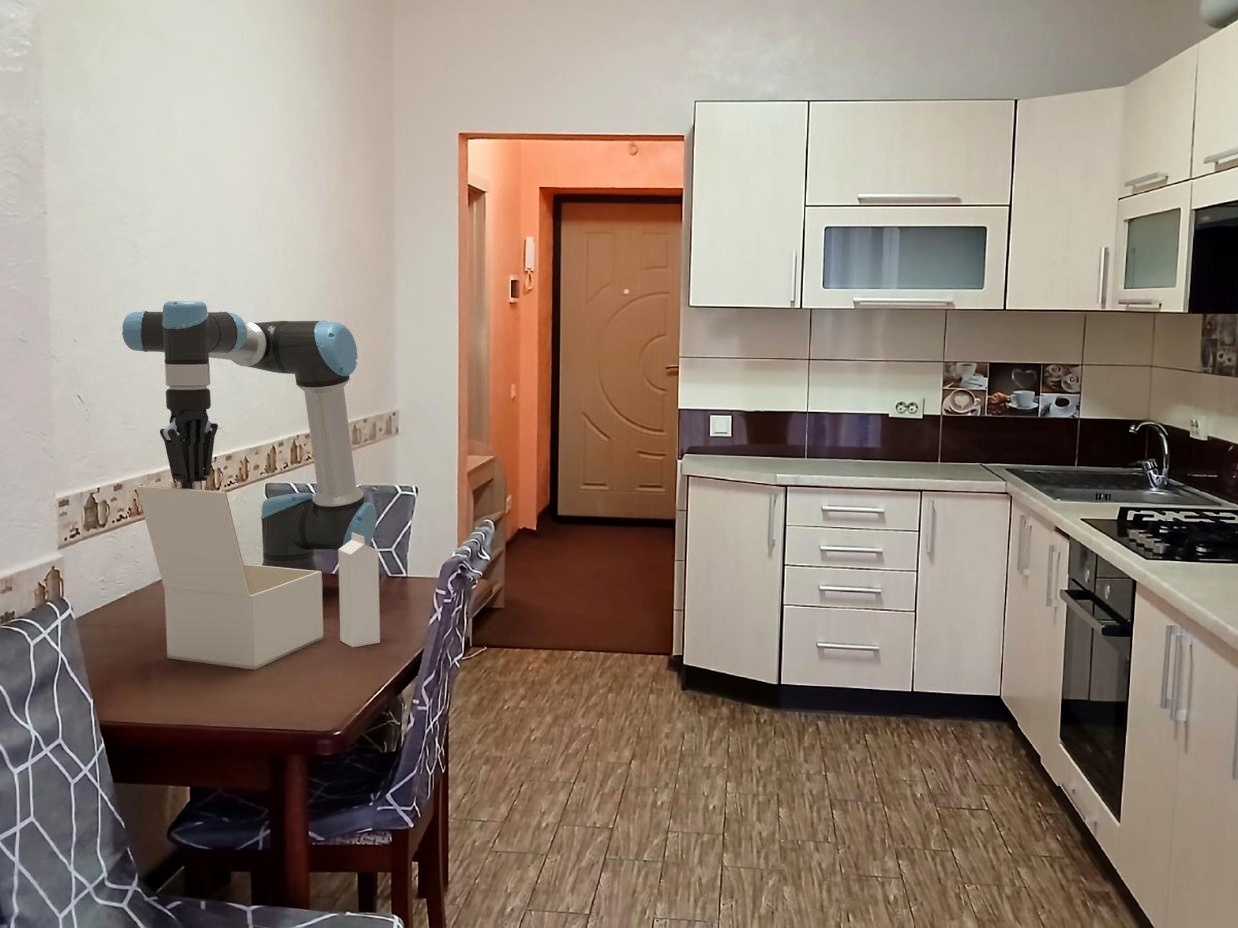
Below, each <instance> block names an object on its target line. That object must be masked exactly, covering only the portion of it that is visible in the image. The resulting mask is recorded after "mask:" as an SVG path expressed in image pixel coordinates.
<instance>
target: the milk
mask: <svg viewBox="0 0 1238 928" xmlns="http://www.w3.org/2000/svg"><path fill="white" fill-rule="evenodd" d="M337 553H338V555H337V557H338V592H339V593H338V595H339V596H338V597H339V598H338V599H339V638H340V639H339V640H340V642H343V643H344V644H345V645H348V646H349V647H351V648H357V647H364V646H367V645H369V646H370V645H373V644H379V643H381V628H380V627H381V626H380V625H381V624H380V620H381V619H380V578H379V577H380V576H379V575H380V574H379V573H380V571H379V570H380V567H379V550H377V549H376V548H374V547H371V546H370V545H368V546H367V545H365V539H364V536H361V535H358V534H356V533H353V532H352V539H351V540H350V541H349V542H348V543H346V544H345V545H344V546H342V547H341V548H340V549H338V551H337Z"/></svg>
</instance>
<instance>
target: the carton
mask: <svg viewBox="0 0 1238 928" xmlns="http://www.w3.org/2000/svg"><path fill="white" fill-rule="evenodd" d="M243 565H244V569H245V573H246V578H247V582H248V586H249V590H250V595H249V596H244V595H235V594H225V593H216V592H207V591H198V590H188V589H179V588H170V587H164V586H163V588H164V606H165V609H164V610H165V633H166V652H167V653H166V656H167V659H170V660H171V659H172V660H178V661H179V660H180V661H187V662H192V663H193V662H194V663H199V664H200V663H201V664H202V663H203V664H208V665H216V666H224V667H233V668H240V669H245V670H254V671H256V670H258V669H260V668H262V667H264V666H267V665H269V664H272V663H273V662H275V661H278V660H280V659H282V658H285V657H287V656H288V655H291V654H294V653H296V652H297V651H300V650H302V649H304V648H306V647H309V646H310V645H311V646H312V645H313V644H315V643H317V642H319V641H322V640H324V620H323V619H324V617H323V616H324V615H323V613H324V612H323V590H322V581H323V579H322V578H323V577H322V575H323V574H322V571H321V570H319V571H313V570H302V569H292V568H282V567H271V566H262V564H261V565H260V564H249V563H243Z"/></svg>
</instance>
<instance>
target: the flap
mask: <svg viewBox="0 0 1238 928" xmlns="http://www.w3.org/2000/svg"><path fill="white" fill-rule="evenodd" d="M136 489H137V493H138V498H139V501H140V505H141V509H142V512H143V516H144V520H145V523H146V527H147V531H148V535H149V538H150V542H151V545H152V548H153V549H152V550H153V553H154V557H155V560H156V563H157V567H158V570H159V571H158V572H159V574H160V578H161V582H162V586H163V588H164V587H170V588H179V589H188V590H198V591H207V592H216V593H225V594H235V595H244V596H249V595H250V590H249V586H248V582H247V578H246V573H245V569H244V565H243V564H244V562H243V561H244V560H243V558H242V553H241V549H240V544H239V540H238V537H237V533H236V529H235V524H234V520H233V516H232V511H231V507H230V503H229V498H228V494H227V491H223V490H207V489H202V490H197V489H184V488H182V487H167V486H157V485H156V486H152V485H141V484H139V485H136Z"/></svg>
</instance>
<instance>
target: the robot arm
mask: <svg viewBox="0 0 1238 928" xmlns="http://www.w3.org/2000/svg"><path fill="white" fill-rule="evenodd" d="M121 327H122V333H121V334H122V335H121V336H122V339H123V341H124V344H125V345H126V346H127V347H128V349H130V350H132V351H136V352H143V353H148V352H149V353H150V352H152V353H153V352H155V353H164V364H165V365H164V369H165V370H164V371H165V372H164V373H165V385H166V386H167V387H169V388H167V389H166V390H165V401H166V404H165V406H166V409H167V410H169V411H170V417H169V425H168V426H167V427H166V428H160V429H159V433H160V434H159V435H160V437H161V438H162V440H163V442H164V446H165V452H166V454H167V461H168V465H169V468H170V473H171V478H172V479H173V481H176V482H179V483H181V488H184V489H197V490H203V482H206V481H207V480H208V477H209V476H210V474H211V469H212V468H211V467H212V462H213V461H212V460H213V453H214V446H215V445H214V444H215V437H216V433H217V431H218V429H219V425H218V423H214V422H211V421H210V420H209V416H208V415H209V414H208V412H207V410H209V409H210V408H211V406H212V404H211V403H212V402H211V401H212V400H211V390H210V389H209V388H208V386H210V384H211V372H210V358H211V359H218V360H226V361H227V360H229V361H232V362H233V363H234V364H236V365H238V366H240V367H247V368H252V369H257V370H262V371H266V372H270V373H277V374H285V375H288V374H289V375H290V374H291V375H294V377H295V383H296V384H295V385H296V386H297V387H298V388H299V389H301V390H302V391H303V392H304V399H305V405H306V412H307V420H308V427H309V436H310V441H311V450H312V457H313V458H312V459H313V466H314V471H315V479H316V487H317V492H316V493H314V495H313V493H312V492H296V493H295V492H293V493H287V494H283V495H277V496H272V497H269V498H267V499H265V500H264V501H263V502H262V504H261V505H262V506H261V517H260V519H261V534H262V535H261V537H262V564H261V566H271V567H282V568H292V569H302V570H313V571H320V570H319V567H318V565H317V562H316V558H315V551H325V552H327V551H328V552H338V549H340V548H341V547H342V546H344V545H345V544H346V543H348V542H349V541H350V540H351V539H352V532H353V533H356V534H358V535H361V536H364V539H365V545H367V546H370V544H371V542H372V540H373V537H374V534H375V532H376V526H377V517H378V516H377V509H376V507H375V505H374V504H373V503H372V502H369V501H365V500H366V499H365V494H364V490H363V489H361V488H360V487H358V486H357V483H356V475H355V473H356V472H355V467H354V466H355V465H354V460H353V459H354V458H353V457H354V456H353V451H352V443H351V442H352V441H351V436H350V435H351V434H350V427H349V419H348V410H347V402H346V401H347V400H346V394H345V386H346V385H347V384H348V383H349V381H351V380H350V379H351V378H350V375H352V374H353V373H354V372H355V370H356V369H357V365H358V363H357V362H358V361H357V360H358V350H357V344H356V340H355V338H354V336H353V334H352V332H351V331H350V329H349V328H347V326H346V325H345V324H343V323H341V322H337V321H328V320H275V321H274V320H273V321H265V322H262V321H261V322H250V321H249V322H248V321H244V319H243V318H241V316H239V315H238V314H237V313H236V314H235V313H233V312H229V311H208V307H207V303H205V302H204V301H193V300H192V301H191V300H190V301H185V300H184V301H183V300H182V301H181V300H180V301H179V300H178V301H175V300H174V301H173V300H171V301H170V300H169V301H166V302H164V304H163V306H162V311H147V310H143V311H133V312H130V313H129V314H127V315H126V317H125V318H124V320H123V322H122V326H121ZM323 590H324V583H323V580H322V591H323Z"/></svg>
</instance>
